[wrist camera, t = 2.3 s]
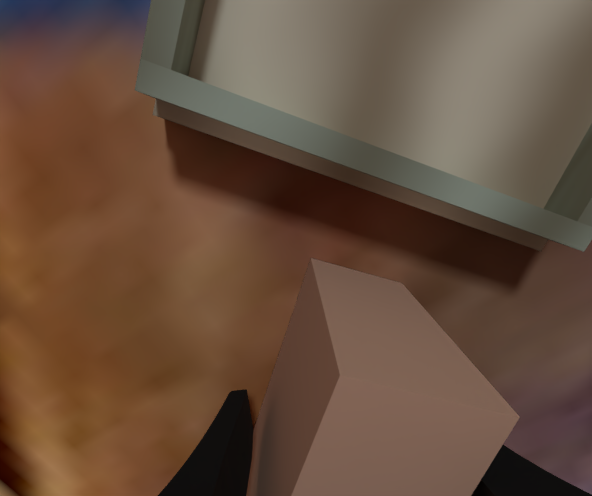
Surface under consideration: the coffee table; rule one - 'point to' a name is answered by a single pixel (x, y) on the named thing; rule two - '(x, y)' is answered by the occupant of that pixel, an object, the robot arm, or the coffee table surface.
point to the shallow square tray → (397, 99)
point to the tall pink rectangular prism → (372, 398)
